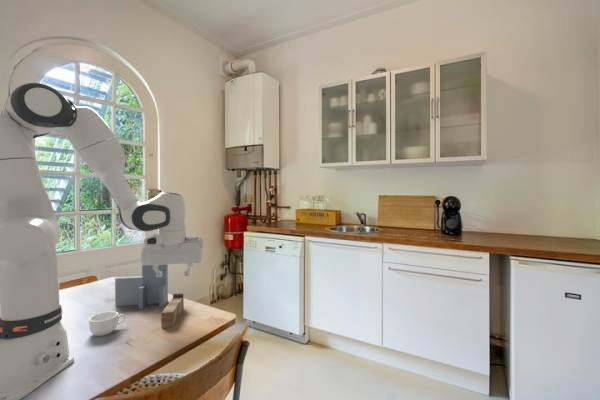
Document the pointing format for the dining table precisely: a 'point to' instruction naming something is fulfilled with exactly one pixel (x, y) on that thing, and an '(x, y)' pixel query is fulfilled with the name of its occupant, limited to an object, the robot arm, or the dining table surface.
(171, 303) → the wooden block
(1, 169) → the robot arm
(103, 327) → the teacup
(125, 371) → the dining table surface
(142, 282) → the stepped grey building model
